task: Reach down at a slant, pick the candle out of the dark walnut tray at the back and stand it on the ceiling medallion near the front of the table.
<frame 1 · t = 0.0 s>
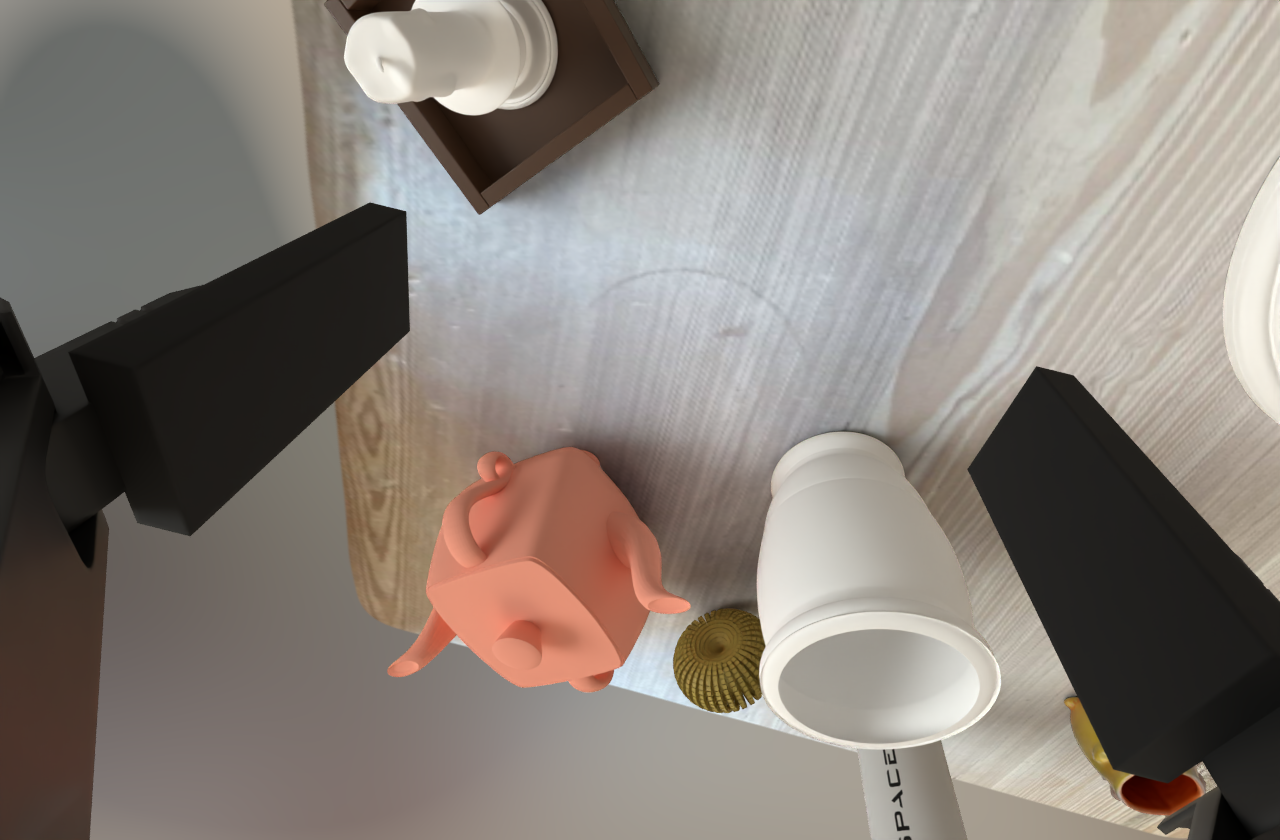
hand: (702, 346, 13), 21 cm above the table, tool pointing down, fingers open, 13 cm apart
teapot: (569, 506, 45), on the table
travel mug: (889, 689, 51), on the table
candle: (504, 44, 28), resting on tray
tray: (506, 44, 28), on the table
mug: (1118, 721, 49), on the table
jar: (834, 479, 40), on the table
sculpture: (726, 612, 49), on the table
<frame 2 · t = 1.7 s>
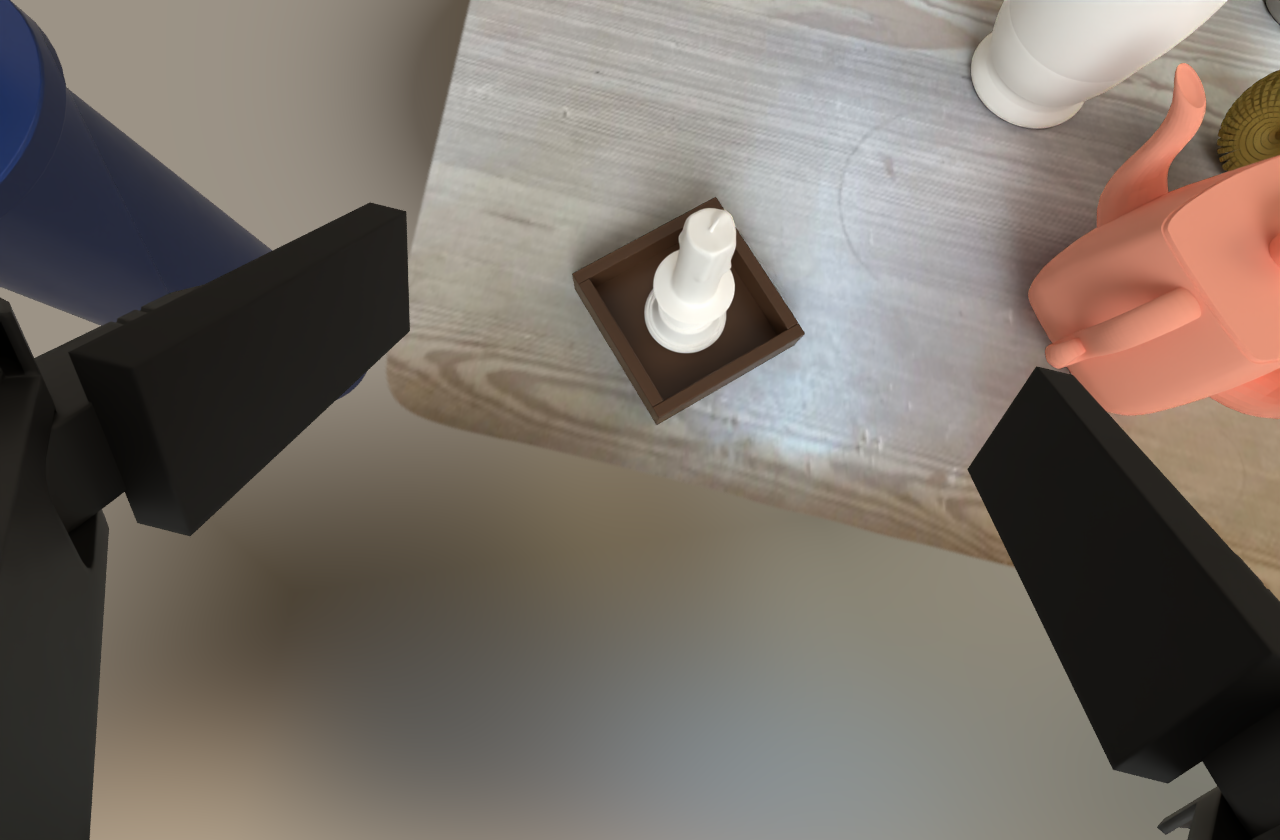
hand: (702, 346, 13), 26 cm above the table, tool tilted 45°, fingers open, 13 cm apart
teapot: (1111, 325, 41), on the table
candle: (684, 315, 40), resting on tray
tray: (684, 317, 40), on the table
jar: (1023, 81, 44), on the table
sculpture: (1229, 168, 43), on the table
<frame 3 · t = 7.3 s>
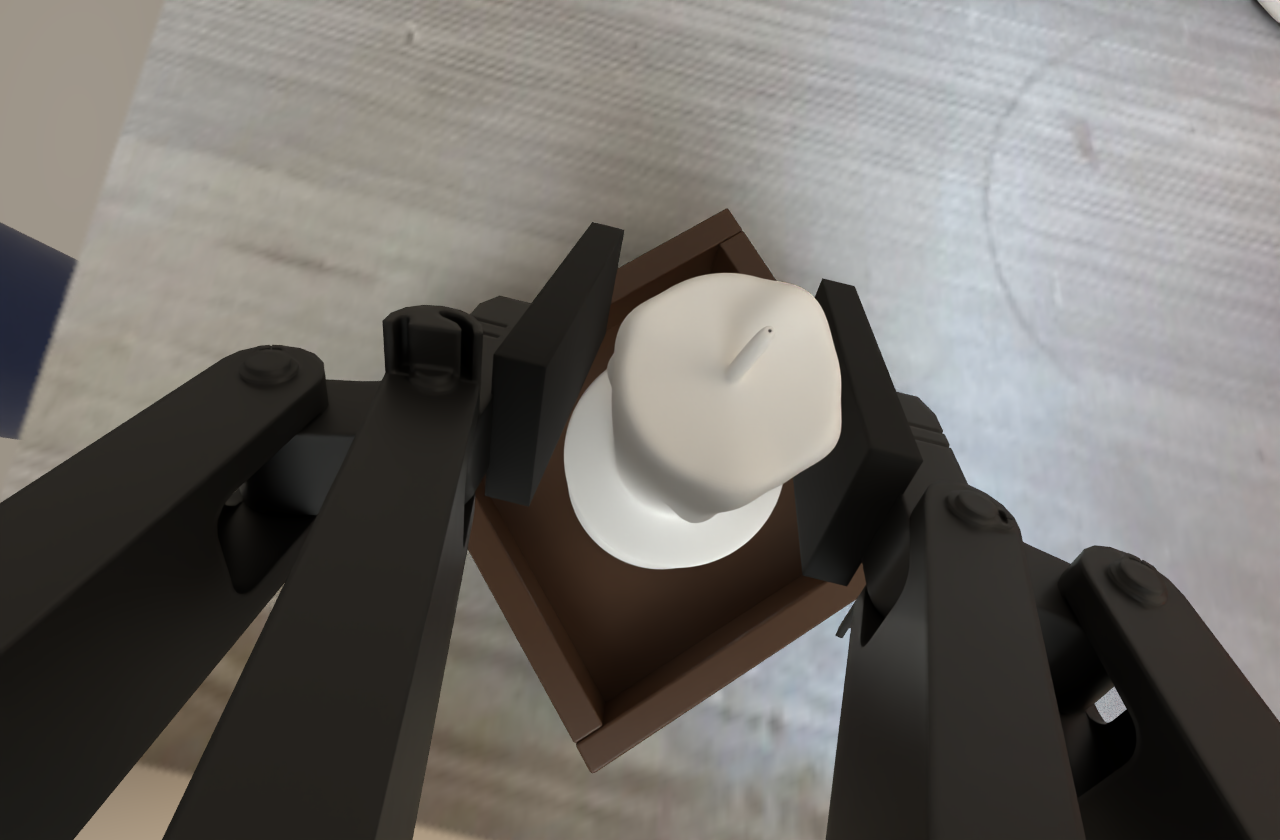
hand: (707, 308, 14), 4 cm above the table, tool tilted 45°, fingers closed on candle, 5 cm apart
candle: (660, 474, 18), resting on tray, touching gripper
tray: (659, 475, 18), on the table
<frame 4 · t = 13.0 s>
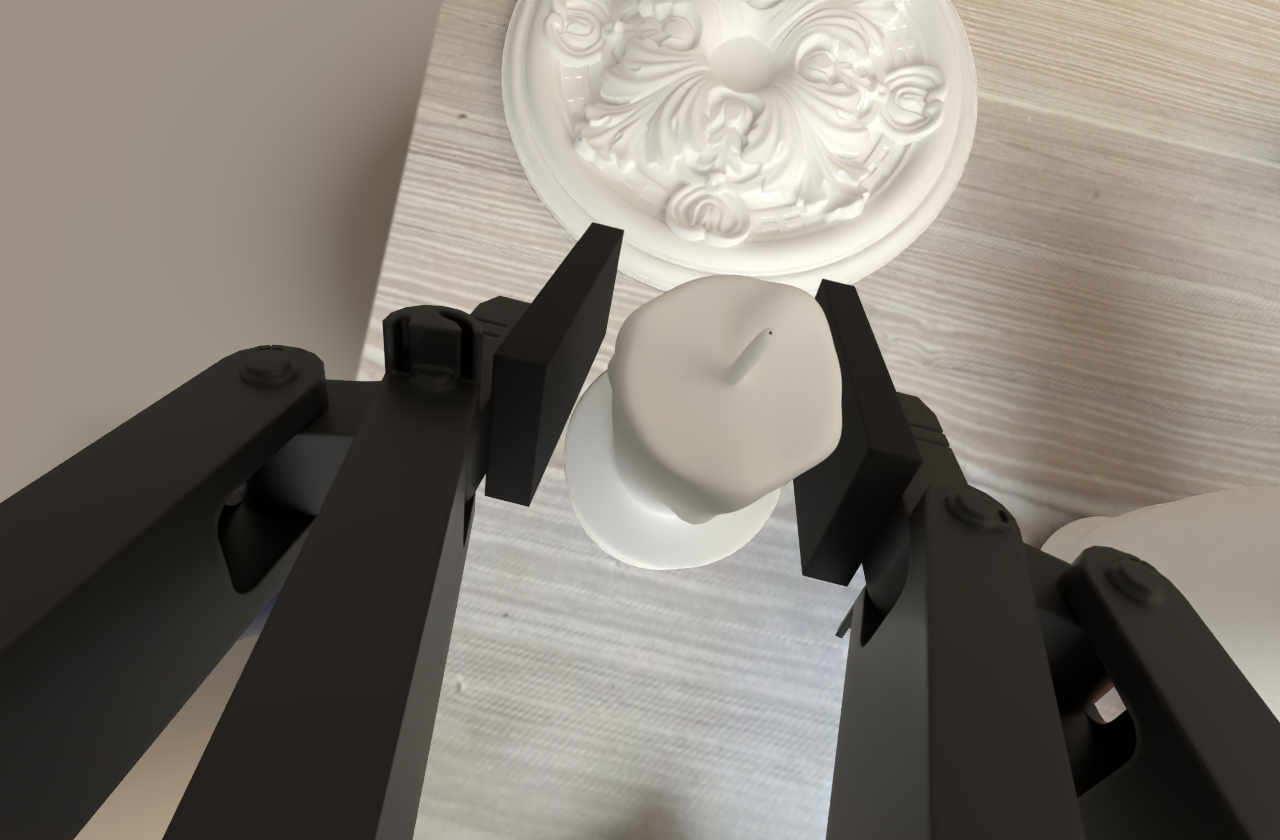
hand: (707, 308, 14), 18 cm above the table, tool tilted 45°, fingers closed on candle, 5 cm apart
candle: (659, 475, 18), point 14 cm above the table, touching gripper
jar: (1103, 597, 32), on the table
ceiling medallion: (738, 85, 36), on the table
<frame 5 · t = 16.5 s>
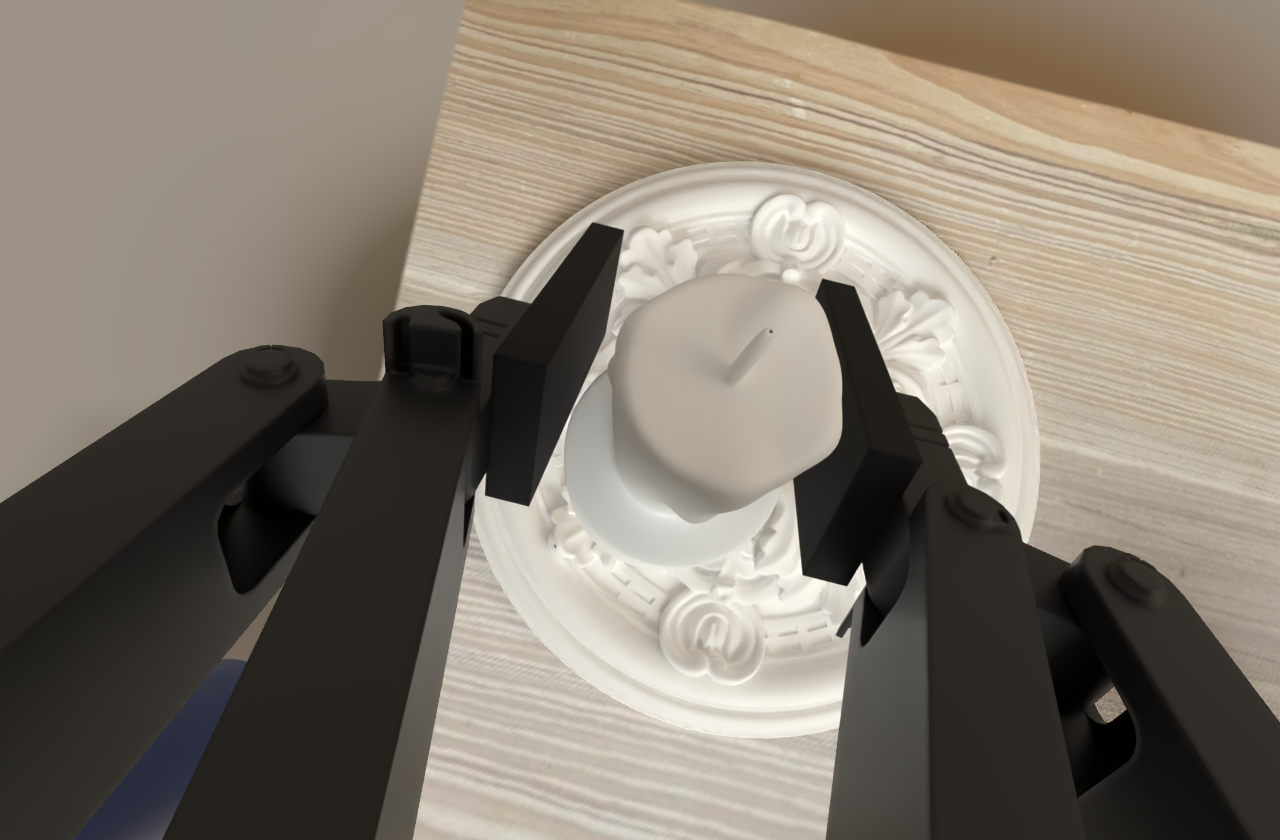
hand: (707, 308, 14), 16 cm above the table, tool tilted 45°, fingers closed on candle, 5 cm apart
candle: (659, 474, 18), point 12 cm above the table, touching gripper
ceiling medallion: (750, 428, 30), on the table
when the fingers open (7 cm above the table, at t = 18.9 s): candle stays where it is, resting on ceiling medallion.
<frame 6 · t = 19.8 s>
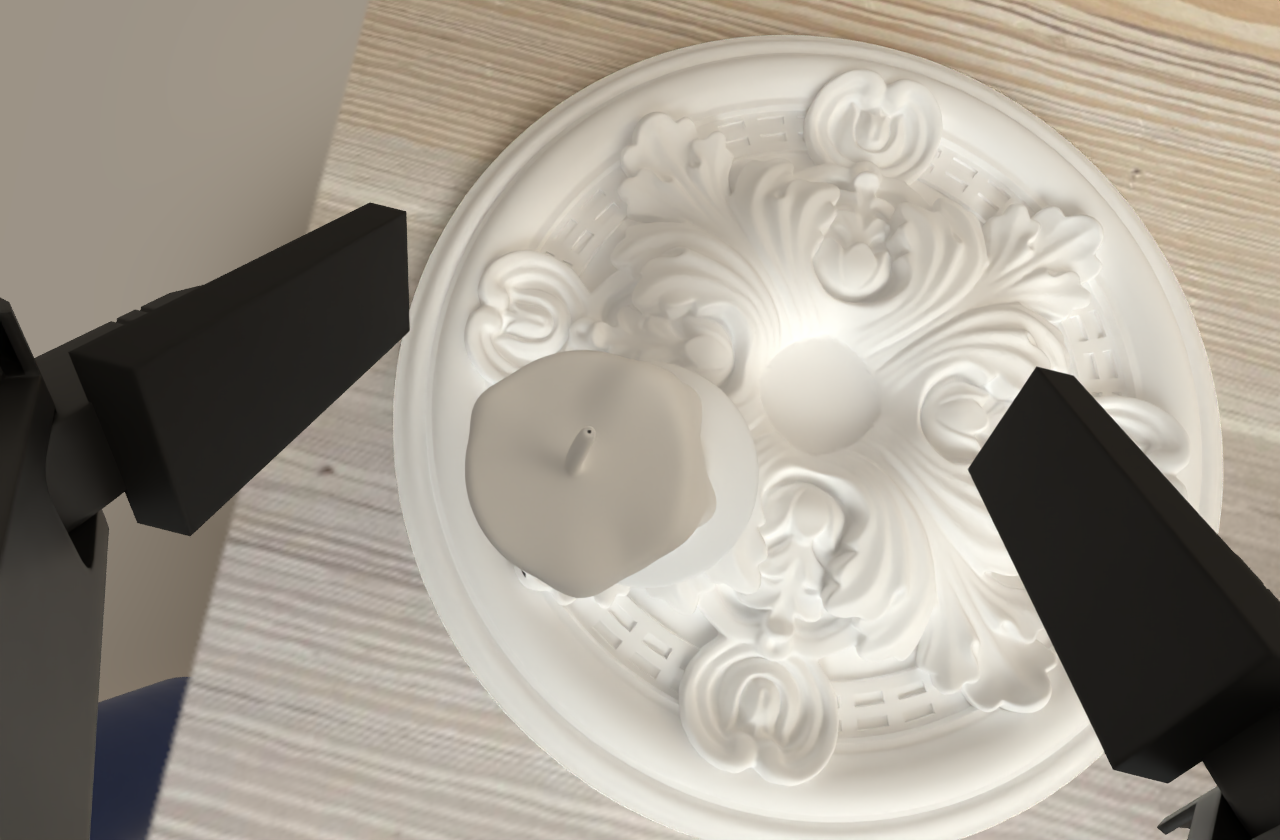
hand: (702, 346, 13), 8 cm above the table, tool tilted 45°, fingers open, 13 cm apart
candle: (661, 474, 17), point 3 cm above the table, touching ceiling medallion
ceiling medallion: (805, 403, 21), on the table, touching candle
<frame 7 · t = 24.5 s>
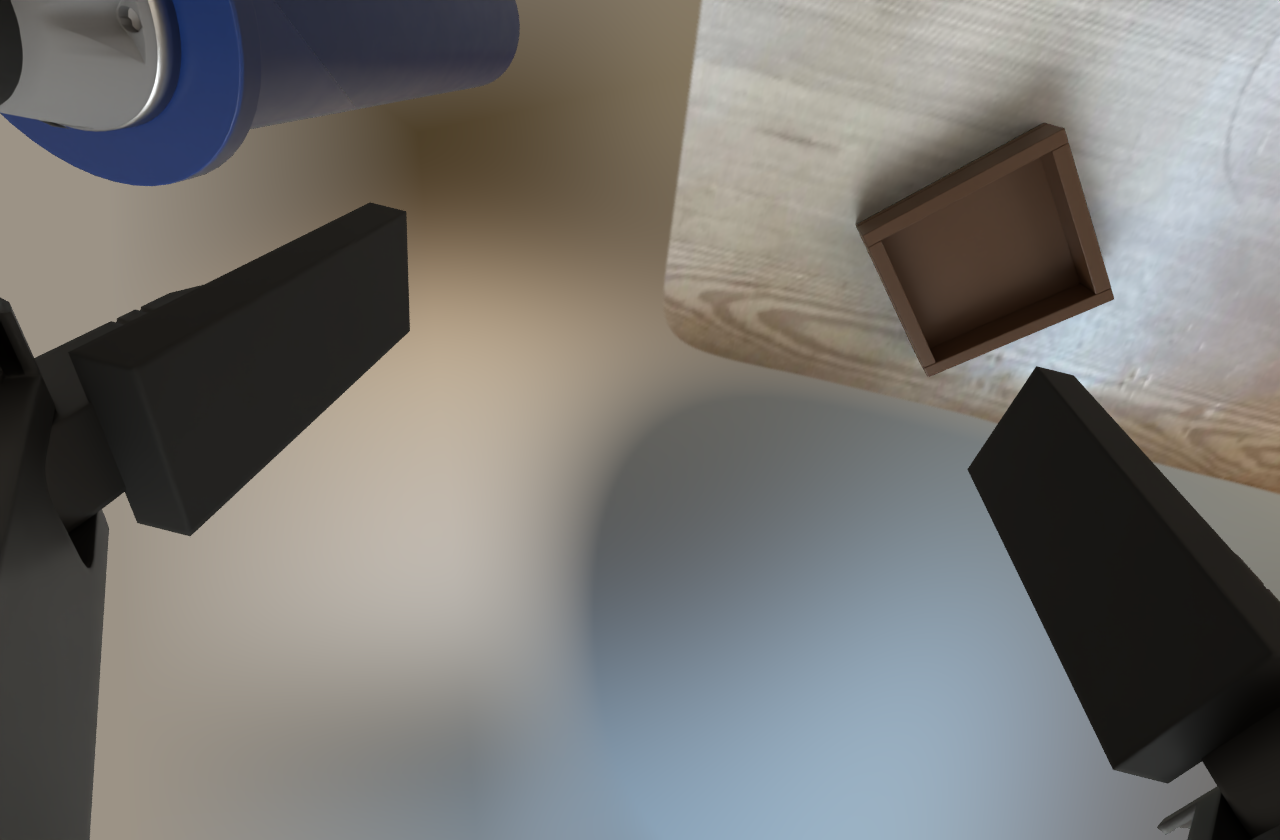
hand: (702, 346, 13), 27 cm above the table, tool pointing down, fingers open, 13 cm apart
tray: (974, 254, 37), on the table
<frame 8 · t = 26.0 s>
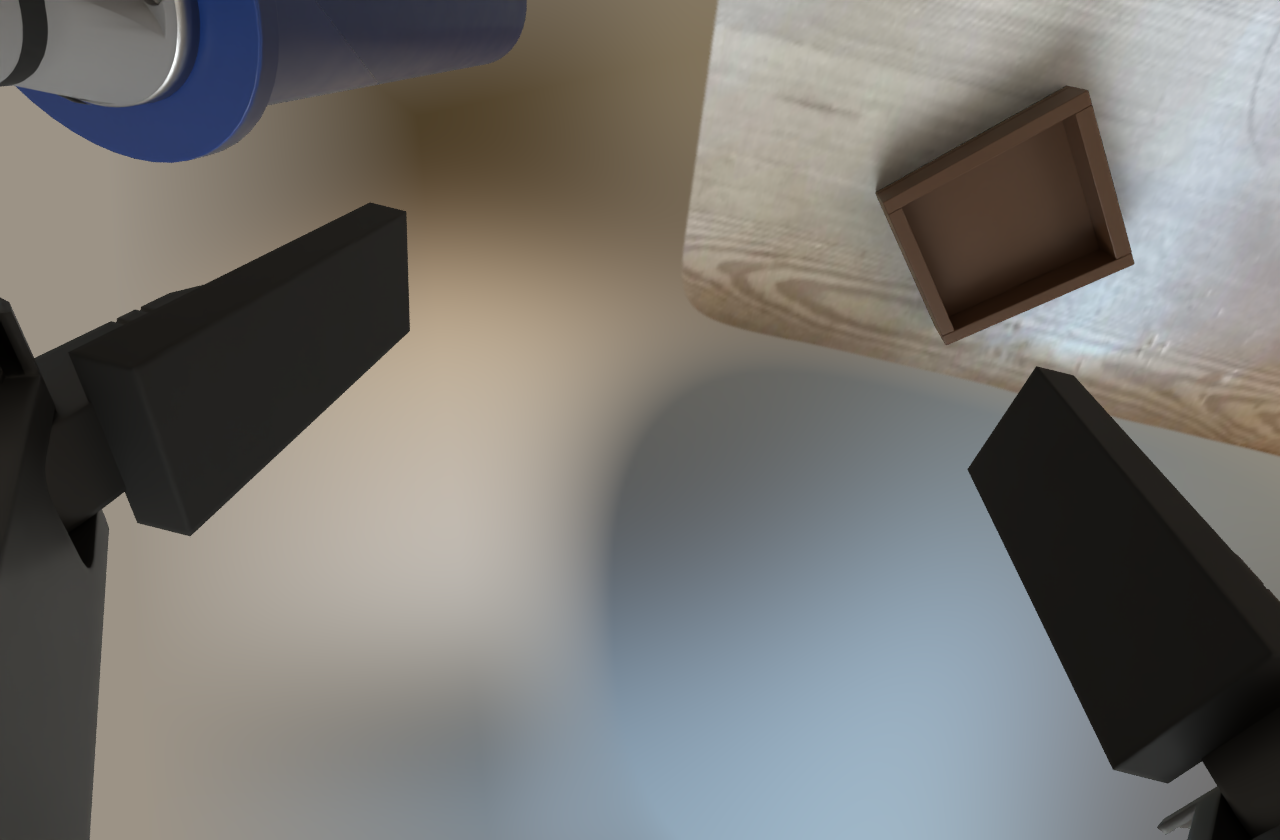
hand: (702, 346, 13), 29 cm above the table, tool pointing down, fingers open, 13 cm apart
tray: (994, 221, 37), on the table
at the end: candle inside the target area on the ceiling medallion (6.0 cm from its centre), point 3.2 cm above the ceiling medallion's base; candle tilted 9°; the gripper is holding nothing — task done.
